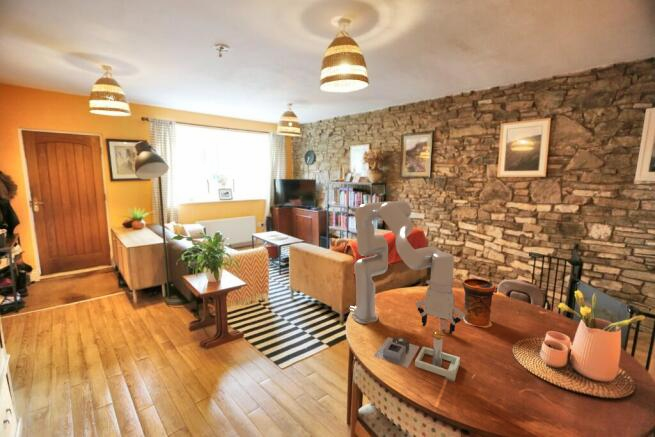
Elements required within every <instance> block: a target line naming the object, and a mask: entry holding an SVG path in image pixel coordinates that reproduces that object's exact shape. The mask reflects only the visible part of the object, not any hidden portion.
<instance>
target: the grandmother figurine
mask: <svg viewBox="0 0 655 437" xmlns="http://www.w3.org/2000/svg"><path fill="white" fill-rule="evenodd" d="M434 319H436V320H437V319H438V317H435V316H434ZM438 322H439V323H438V326H439V328H438V330H441V331H443V332H444V333H446V334H448V333H449V331H450V329H449V324H451V322H450V321H449V320H447V319H443V318H439V320H438ZM449 322H450V323H449Z"/></svg>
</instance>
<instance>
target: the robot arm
mask: <svg viewBox="0 0 655 437" xmlns="http://www.w3.org/2000/svg"><path fill="white" fill-rule="evenodd" d="M411 214H412V208H411V206H410V204H409V203H408V202H406V201H404V200H396V201H378V202H367V203H362V204H360V205H358V207H357V208H356V209H355V212H354V220H355V224H356V250H357V253H358V255H359V256H363V258H360V259H358V260H356V261H355V263H354V265H353V270H354V271H353V272H354V275H355V306H353V305H350V307H349V312H351V313H353V316H352V319H353V320H354V321H355V322H356V323H359V324H363V325H367V324H368V325H369V323H376V322H377V321H379V316H378V314H377V313H376V284H375V282H374V280H373V278H372V277H375V276H378V275H382V274H384V273H386V272H387V270H388V267H389V266H388V265H389V244H388V240H387V238H386V237H385V236H384V235H382V234H375V226H374V224H373V222H374V221H375V222H376V221H384V223H385V224H386V226H387V227H388V228H389V230H390V231H391V232H392V233H393V234H394V236H395V247H396V252H397V254H398V255H399V258H400V259H401V260H402V261H403V262H404V264H405V265H406V266H407V267H409V268H410V269H411V270H414V271H417V270H422V269H426V268H430V279H429V280H428V279H427V280H426V281H425V282H426V284H427V285H428V287H426V288H427V289H426V291H425V297H424V300H423V299H422V300H418V301H416V302H415V306H416V309H417V311H418V312H419V313H420V316H421V323H422V327H426V325H427V323H428V315H429V316H432V317H434V318H435V317H437V318H439V319H440V318H443V319H447V320H448V321H449V322H451V323H449V332H448V333H449V335H452V334H453V333H454V332H455V330H456V324H457V323H460V322H461V321H462V319H463V317H464V315H465V312H463V311H461V310H460V309H459V308H457V307H455V292H454V290H453V277H454V270H455V269H454V267H455V257H454V255H453V254H451V253H449V252H446V251H442V250H440V249H438V248H437V247H434V246H425V247H420V248H414V247H413V246H412V245H411V243H410V242H409V241H408V237H409V236H410V234H412V232H413V231H414V229H415V228H414V227H415V226H414V224H413V222H412V221H411V220H410V219H409V218H410V217H411ZM454 314H456V315H458V316H457V317H456V316H455V315H454Z"/></svg>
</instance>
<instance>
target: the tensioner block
mask: <svg viewBox="0 0 655 437" xmlns="http://www.w3.org/2000/svg"><path fill="white" fill-rule="evenodd" d="M419 350H420V345H417V344H416V345H415V344H412V343H410V341H409V339H407V338H406V337H404V336H403V337H402V336H396V337H394V338H393V337H389V336H388V337H387V338H386V340H384V342H383V343H382V344H381V345H380V347H379V348H378V349H377V350H376V351H375V353H374V354H373V357H375V358H378V359H381V360H383V361H387V362H388V363H389V362H390V363H392V364H396V365H397V366H401V367H403V368H407V369H408V368H409V366H410V364H411V363H412V361H413V360H414V358H415V356H416V354H417V352H418V351H419Z"/></svg>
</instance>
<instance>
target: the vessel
mask: <svg viewBox="0 0 655 437" xmlns="http://www.w3.org/2000/svg"><path fill="white" fill-rule="evenodd" d="M461 283H462V286H463V289H464V290H463V291H464V314H465V315H464V317H463V318H462V319H463V322H464V323H465V324H468V325H469V326H470V325H471V326H475V327H479V328H483V329H484V328H485V329H486V328H490V327H492V326H493V324H492V322H491V321H490V318H491V312H492V309H491V307H492V302H493V300H492V299H493V296H494V292H495V291H496V285H495V284H494V283H493V282H490V281H489V280H488V279H487V280H486V279H483V278H465V279H463V281H462V282H461Z"/></svg>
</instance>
